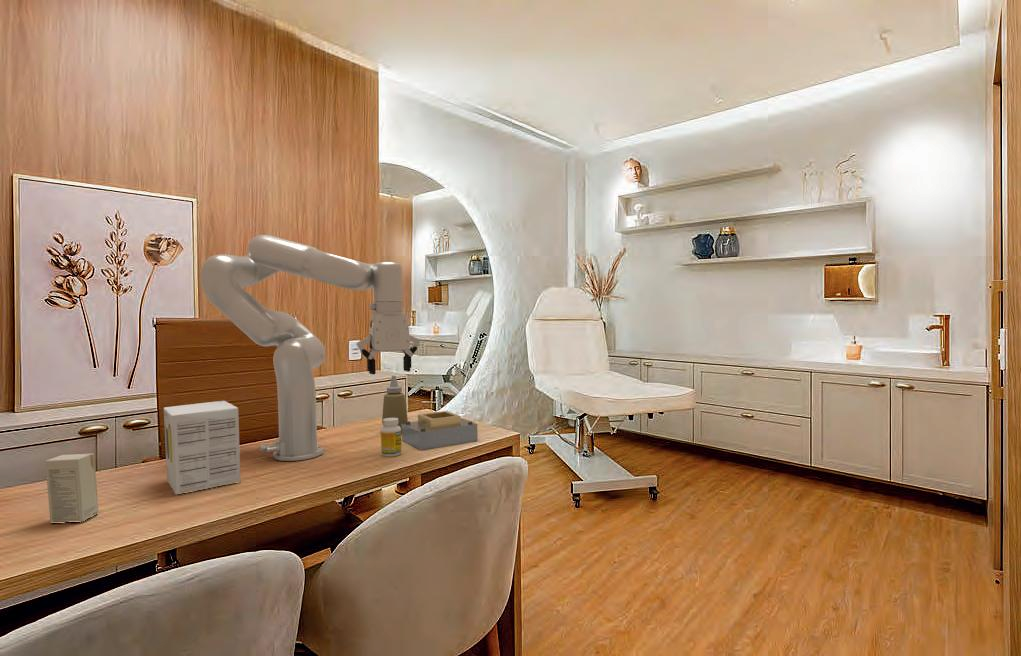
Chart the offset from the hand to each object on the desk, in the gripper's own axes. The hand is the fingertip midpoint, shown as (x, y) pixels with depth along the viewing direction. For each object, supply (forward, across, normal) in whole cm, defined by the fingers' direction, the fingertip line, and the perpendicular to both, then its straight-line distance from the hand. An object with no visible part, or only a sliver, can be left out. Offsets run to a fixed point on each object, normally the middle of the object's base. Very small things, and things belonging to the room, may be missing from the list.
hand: (389, 372), depth 144 cm
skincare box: (+22, -66, -8) cm, 70 cm away
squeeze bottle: (+22, +10, +24) cm, 34 cm away
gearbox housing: (+22, +17, +6) cm, 28 cm away
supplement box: (+22, -44, +3) cm, 50 cm away
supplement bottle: (+22, 0, 0) cm, 22 cm away
